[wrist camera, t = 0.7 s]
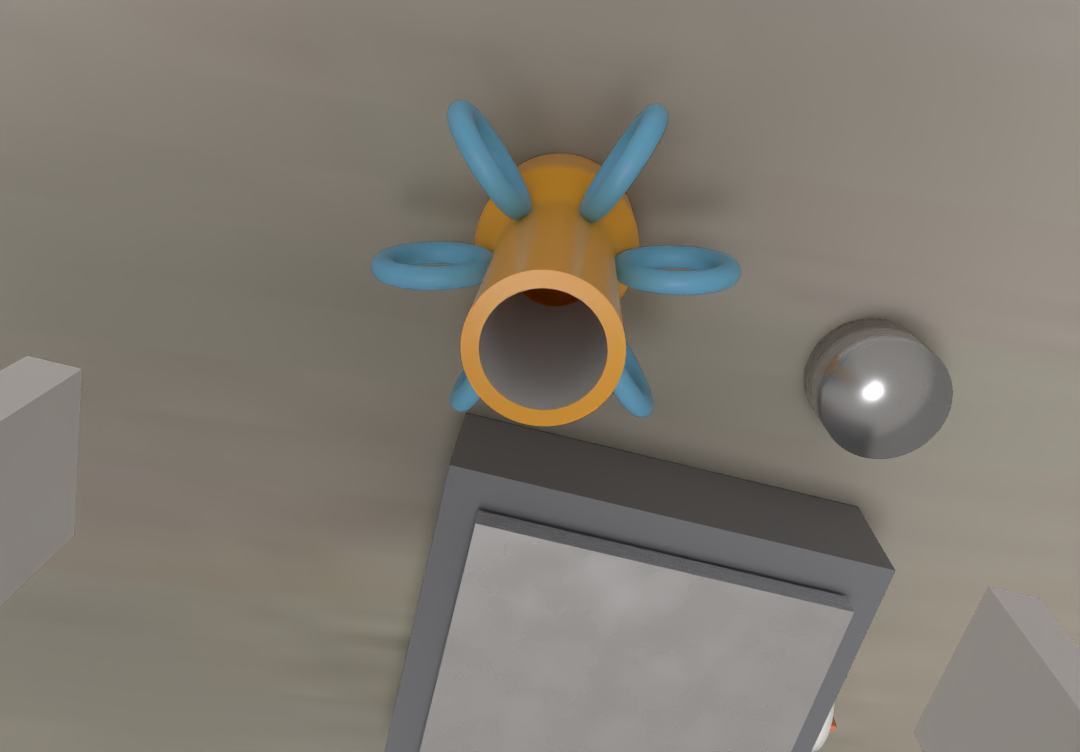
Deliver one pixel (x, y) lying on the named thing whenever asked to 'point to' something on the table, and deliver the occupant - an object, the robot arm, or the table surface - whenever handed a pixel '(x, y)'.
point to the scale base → (637, 540)
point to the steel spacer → (877, 388)
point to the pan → (623, 650)
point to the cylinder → (552, 275)
